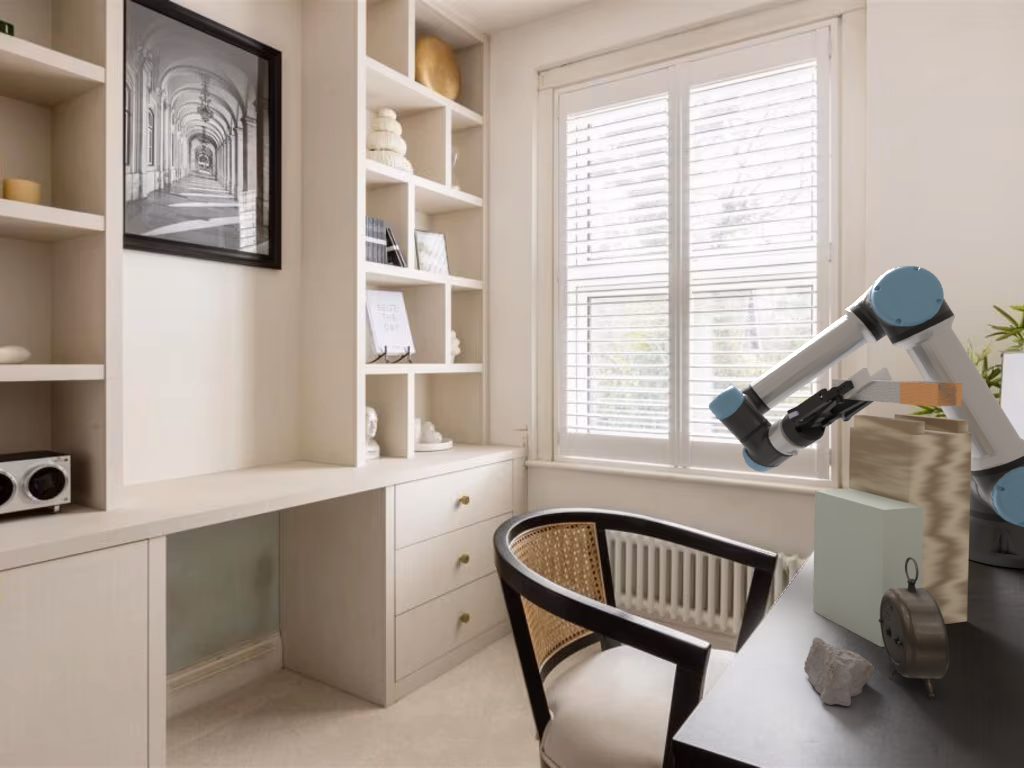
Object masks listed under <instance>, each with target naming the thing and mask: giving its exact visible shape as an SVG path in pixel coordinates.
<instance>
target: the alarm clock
mask: <svg viewBox="0 0 1024 768" xmlns="http://www.w3.org/2000/svg"><path fill="white" fill-rule="evenodd" d="M910 559H911V560H913V562H914V564H915V569H916V577H915V579H913V578H909V575H908V571H907V564H908V561H909V560H910ZM905 573H906V576H907V579H908V580H907V582H908V588H891V589H889V590H887V591H886V592H885V594H884V595H883V597H882V600H881V605H880V619H879V622H880V626H881V633H882V638H883V642H884V646H885V647H884V649H885V651H886V655H887V656H888V658H889V661H890V664H891V667H892V668H891V671H890V673H889V676H888V678H889V679H892V678H893V677H894V675H895V674H896V673H899V674H900V675H901V676H902V677H905V678H907V679H908V678H909V679H922V680H923V681H924V684H925V687H926V690H927V692H928V695H927V696H928V698H929V699H931V700H932V699H935V694H934V688H933V686H934V685H933V683H932V680H942V679H943V678H944V677H945V675H946V674H947V672H948V668H949V664H950V644H949V637H948V632H947V626H946V624H945V622H944V619H943V616H942V613H941V611H940V608H939V606H938V604H937V602H936V600H935V598H934V597H933V596H932V595H931V593H930V592H928V591H927V590H926V589H924V588H916V587H915V584H916V581H917V579H918V575H919V570H918V565H917V562H916V560H915V559H914V558H913V557H908V558H907V559H906V562H905Z"/></svg>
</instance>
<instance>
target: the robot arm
mask: <svg viewBox="0 0 1024 768" xmlns="http://www.w3.org/2000/svg"><path fill="white" fill-rule="evenodd" d="M955 317H956V315H955V314H954V312H953V310H952V309H951V307H950V305H949V304H948V302H947V301H946V299H945V298H944V288H943V286H942V283H941V281H940V279H939V278H938V277H937V276H936V275H935V274H934V273H933V272H932V271H930V270H928V269H927V268H924V267H920V266H915V265H901V266H896V267H894V268H892V269H888V270H887V271H885V272H884V273H882V274H881V275H879V276H878V277H877V278H876V279H875V280H874V282H873V283H872V284H871V285H870V287H868V289H867V290H866V291H865V292H864V293H863V294H862V295H861V296H860V297H859V298H858V299H857V300H855V301H854V302H853V303H852V304H851V305H848V307H847V308H845V311H844V315H843V316H842V317H840V318H839V319H837V320H836V321H834V322H833V323H831V325H830V326H828V327H826V328H825V329H824V330H822V331H821V332H820V333H818V334H817V335H816V336H814V337H813V338H811V339H810V340H809V341H808V342H806V343H804V344H803V345H802V346H801V347H799V348H797V349H796V350H795V351H793V352H792V353H790V354H789V355H788V356H786V357H785V358H784V359H782V360H781V361H779V362H778V363H777V364H775V365H774V366H772V367H771V368H770V369H769V370H767V371H766V372H765V373H763V374H762V375H760V376H759V377H758V378H756V379H755V380H753V381H752V382H750V383H749V384H748V385H746V386H745V387H743V388H742V389H740V390H739V389H738V388H737V387H736V386H734V385H729V386H728V387H727V388H726V389H724V390H723V391H722V392H721V393H720V394H718V395H717V396H716V397H715V398H713V399H712V400H711V402H710V403H709V404H708V409H709V410H710V411H711V413H712V414H713V415H714V416H715V418H716V419H717V420H719V422H721V424H722V425H724V426H725V427H726V429H727V430H728V431H729V433H731V434H732V435H733V436H734V437H735V438H736V439H737V440H738V441H739V442H740V443H741V446H743V449H742V457H743V460H744V463H745V464H746V465H747V466H748V467H749V469H751V470H753V471H755V472H761V473H762V472H763V473H764V472H765V473H766V472H768V471H770V470H772V469H774V468H776V467H778V466H780V465H782V464H783V463H785V462H786V461H788V460H789V459H790V458H792V457H794V456H795V457H796V456H798V454H799V453H800V452H801V451H802V450H805V449H806V448H807V447H809V446H811V445H813V444H815V443H816V442H817V441H819V440H820V439H821V438H822V437H823V436H824V435H825V431H826V427H829V426H830V425H832V424H834V423H835V421H837V420H839V419H842V422H849V421H850V420H851V419H852V417H854V415H857V414H858V413H860V412H861V411H862V410H864V409H865V408H866V407H868V406H869V405H872V403H874V402H875V401H864V400H851V399H848V398H849V397H851V396H852V395H854V394H855V393H857V392H858V391H860V390H861V389H863V388H864V387H866V386H867V385H869V384H870V383H872V382H873V381H872V380H893V379H892V376H891V374H890V372H889V369H888V367H882V368H881V369H879V370H878V371H876V372H875V373H874V374H872V375H870V373H869V369H868V368H867V367H862V368H861V369H860V370H858V371H857V372H855V373H854V374H853V375H851V376H850V377H848V378H846V379H847V380H846V381H844V382H843V383H842V384H840V385H839V386H838V387H831V388H830V389H828V388H825V387H824V388H821V389H820V390H818V391H817V392H815V393H814V394H812V395H811V396H809V397H808V398H806V399H805V400H804V401H802V402H801V403H799V404H798V405H796V406H794V407H792V408H790V409H788V410H787V411H786V412H787V413H786V414H785V415H783V416H782V417H780V418H779V419H778V420H776V421H775V422H774V423H773V424H772V423H771V422H770V421H769V420H768V418H766V417H765V416H764V415H766V413H768V412H770V411H771V409H773V408H774V407H776V406H778V405H779V404H781V403H782V402H784V400H786V399H788V398H789V397H790V396H792V395H793V394H795V393H797V392H798V391H799V390H801V389H802V388H803V387H805V386H806V385H808V384H810V382H812V381H814V380H815V379H816V378H818V377H819V376H821V375H822V374H824V373H825V372H826V371H828V370H829V369H831V368H833V367H834V366H835V365H837V364H838V363H839V362H841V361H843V360H844V359H846V358H847V357H848V356H850V355H851V354H853V353H854V352H855V351H857V350H858V349H860V348H861V347H863V346H864V345H865V344H867V343H873V344H874V343H877V342H878V341H880V340H881V339H882V338H884V337H887V338H888V340H889V341H890V343H891V345H892V346H894V347H898V348H902V349H904V350H905V351H906V353H907V354H908V356H909V358H910V359H911V361H912V363H913V365H915V368H916V369H917V370H918V372H919V374H920V375H921V378H922V379H923V380H924V382H926V381H928V382H957V383H962V397H961V405H959V406H939V407H940V408H941V411H943V413H944V415H945V418H950V419H960V420H968V432H969V433H972V446H971V484H970V522H969V560H971V561H974V562H978V563H981V564H986V565H992V566H996V567H997V566H998V567H1002V568H1003V567H1004V568H1013V569H1024V439H1023V438H1021V437H1020V435H1019V433H1018V432H1017V430H1016V428H1015V427H1014V425H1013V424H1012V422H1011V421H1010V419H1009V418H1008V416H1007V414H1006V412H1005V411H1004V409H1003V408H1002V406H1001V404H1000V403H999V402H998V400H997V398H996V397H995V395H994V394H993V392H992V390H991V389H990V387H989V385H988V384H987V382H986V381H985V379H984V377H983V376H982V374H981V373H980V371H979V370H978V368H977V367H976V365H975V363H974V362H973V360H972V359H971V356H970V355H969V353H968V352H967V350H966V349H965V347H964V346H963V344H962V343H961V341H960V339H959V338H958V336H957V334H956V332H955V331H954V329H953V323H954V320H955ZM842 396H843V398H844V399H842Z"/></svg>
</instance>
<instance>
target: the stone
mask: <svg viewBox="0 0 1024 768" xmlns="http://www.w3.org/2000/svg"><path fill="white" fill-rule="evenodd" d="M803 669H804V673H806V675H807V677H808V679H809V681H810V684H811V685H812V686H814V689H815V691H816V692H817V693H818V694H820V701H822V702H823V703H824V704H826V705H829V706H832V705H840V706H844V707H849V706H851V704H852V698H851V697H856V696H857V695H860V694H862V692H863V687H864V686H865V685H866V684H868V683H869V681H870V679H871V678H872V677H873V675H874V673H875V668H874V666H873V664H872V663H871V662H870V661H869V660H867V659H866V658H864V657H862V655H861V654H858V653H856V652H854V651H852V650H848V649H841V648H839V647H837V646H834V645H831V644H829V643H827V642H825V640H823V639H822V638H820V637H817V636H815V637H814V638H813V639H812V644H811V645H810V647H809V652H808V654H807V657H806V660H805V661H804V667H803Z"/></svg>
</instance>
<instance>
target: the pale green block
mask: <svg viewBox="0 0 1024 768" xmlns="http://www.w3.org/2000/svg"><path fill="white" fill-rule="evenodd" d="M813 521H814V522H813V523H814V524H813V526H814V529H813V530H814V533H813V536H814V537H813V538H814V539H813V585H812V586H813V588H812V590H813V595H812V598H813V599H812V602H813V603H812V611H813V612H814V613H816V614H819V616H822V617H823V618H826V619H828V620H829V621H831V622H834V623H835V624H837V625H839V626H841V627H843V628H845V629H846V630H848V631H850V632H852V633H854V634H855V635H858V636H860V637H862V638H863V639H866V640H867V641H869V642H871V643H872V644H875V645H876V646H879V647H880V648H885V646H884V642H883V638H882V633H881V626H880V622H879V619H880V605H881V600H882V597H883V595H884V594H885V592H886V591H887V590H889V589H891V588H908V582H907V580H908V579H907V576H906V573H905V562H906V559H907V558H908V557H913V558H914V559H915V560H916V562H917V565H918V570H919V575H918V579H917V581H916V584H915V587H916V588H921V583H922V540H923V507H922V506H918V505H914V504H910V503H906V502H902V501H898V500H894V499H890V498H886V497H882V496H878V495H874V494H870V493H866V492H863V491H859V490H855V489H851V488H850V489H849V488H838V489H837V488H836V489H820V490H814V520H813ZM907 571H908V575H909V578H913V579H915V577H916V569H915V564H914V562H913V560H911V559H910V560H909V561H908V564H907Z"/></svg>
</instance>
